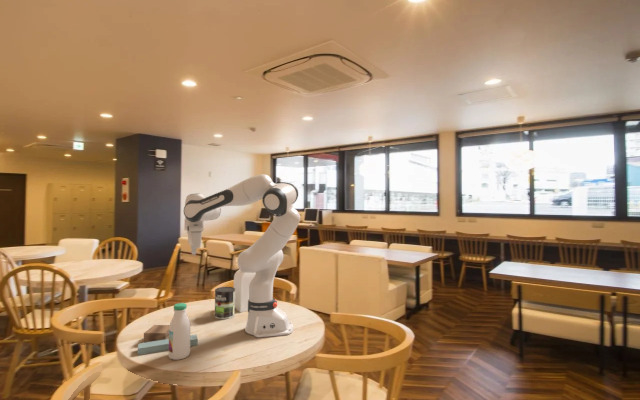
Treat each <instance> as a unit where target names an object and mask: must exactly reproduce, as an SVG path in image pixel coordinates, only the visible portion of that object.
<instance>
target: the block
mask: <svg viewBox="0 0 640 400" xmlns="http://www.w3.org/2000/svg"><path fill="white" fill-rule="evenodd" d="M169 327H170V324H154V325H152V326H151V327H150V328H148V329H147V330H146V331H145V332H143V343H146V342H152V341H158V340H165V339H169Z"/></svg>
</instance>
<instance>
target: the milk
mask: <svg viewBox="0 0 640 400" xmlns="http://www.w3.org/2000/svg"><path fill="white" fill-rule="evenodd" d="M255 274H256V272H254V273H245V272H242V271H241V270H240V269H238V270H237V271H236V272H235V273H234V274H233V288H235V307H234V310H237V312H239V313H244V312H248V300H249V284H250V282H251V280H252V279H253V278H254V276H255Z"/></svg>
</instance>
